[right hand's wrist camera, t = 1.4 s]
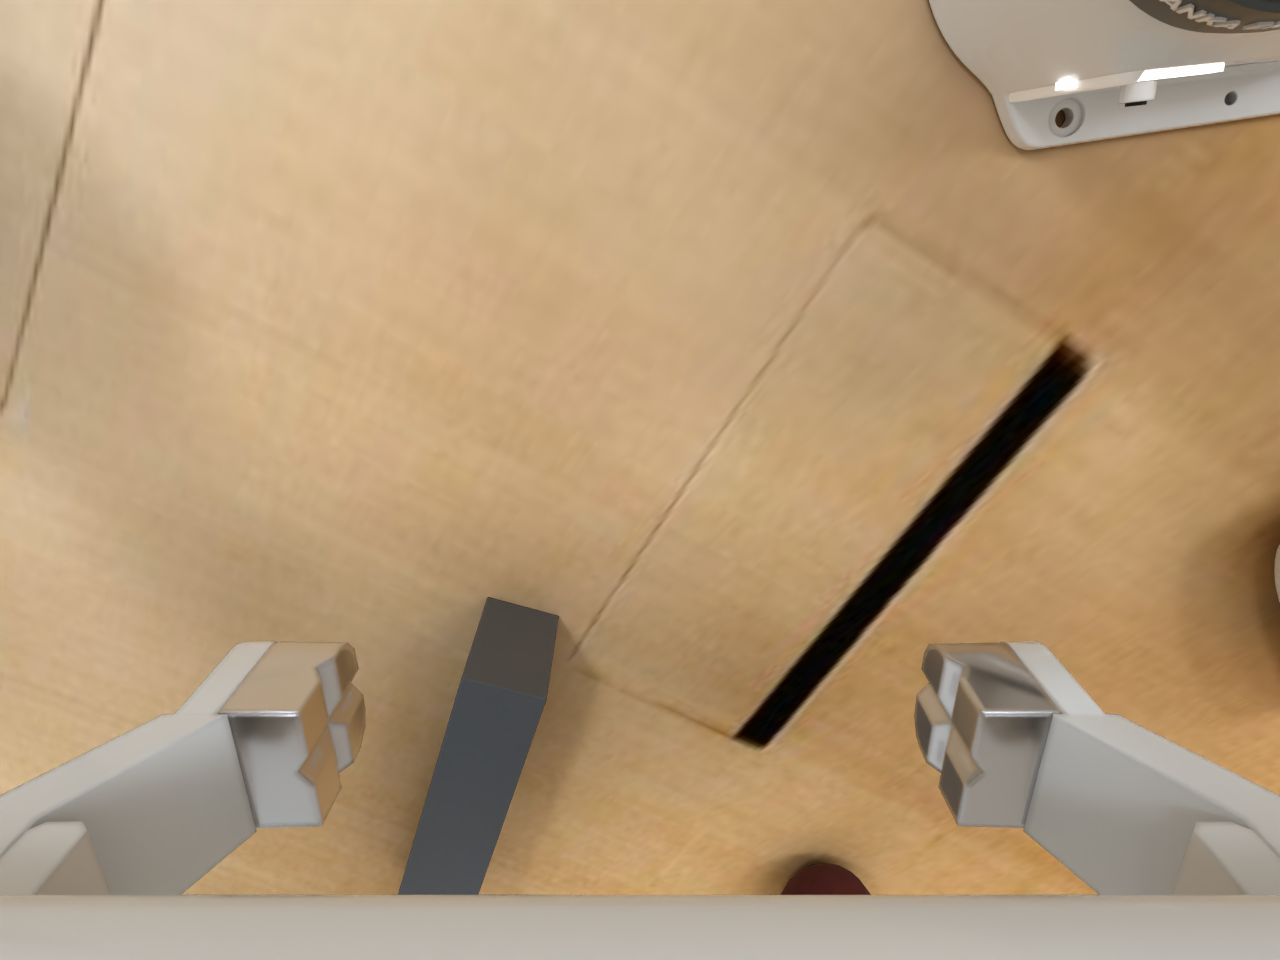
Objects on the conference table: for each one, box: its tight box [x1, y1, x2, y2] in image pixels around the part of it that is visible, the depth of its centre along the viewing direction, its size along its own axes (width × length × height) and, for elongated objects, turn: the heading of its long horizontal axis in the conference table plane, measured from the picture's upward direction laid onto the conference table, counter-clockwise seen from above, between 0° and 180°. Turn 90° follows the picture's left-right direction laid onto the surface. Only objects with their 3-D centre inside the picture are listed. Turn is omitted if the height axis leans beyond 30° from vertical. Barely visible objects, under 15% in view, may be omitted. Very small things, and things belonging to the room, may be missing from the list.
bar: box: [398, 597, 559, 895], centre depth 48 cm, size 25×5×8 cm, turn 162°
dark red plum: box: [781, 863, 871, 895], centre depth 53 cm, size 7×8×7 cm
